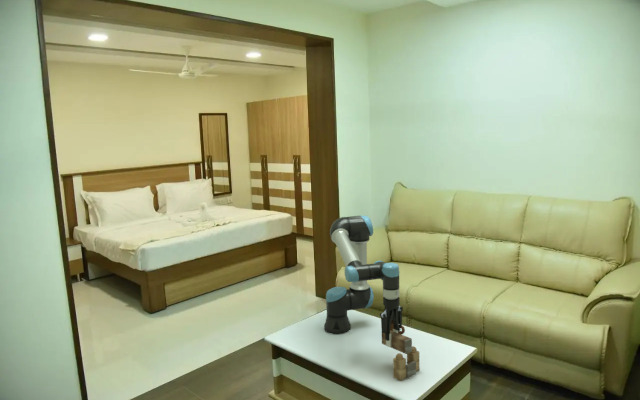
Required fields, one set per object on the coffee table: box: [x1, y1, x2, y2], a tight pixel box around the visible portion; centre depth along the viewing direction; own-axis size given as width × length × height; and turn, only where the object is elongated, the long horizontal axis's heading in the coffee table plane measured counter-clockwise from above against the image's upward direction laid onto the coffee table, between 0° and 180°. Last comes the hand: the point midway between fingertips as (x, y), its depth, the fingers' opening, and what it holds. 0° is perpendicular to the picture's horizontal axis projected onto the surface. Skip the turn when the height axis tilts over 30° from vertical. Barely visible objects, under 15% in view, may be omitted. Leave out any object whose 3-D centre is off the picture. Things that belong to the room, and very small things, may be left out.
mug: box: [390, 320, 406, 335], centre depth 235 cm, size 12×8×9 cm, turn 43°
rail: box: [381, 330, 413, 355], centre depth 205 cm, size 15×4×6 cm, turn 39°
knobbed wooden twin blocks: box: [392, 345, 420, 382], centre depth 201 cm, size 5×14×11 cm, turn 129°
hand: (392, 344), depth 207 cm, fingers closed on rail, 4 cm apart
